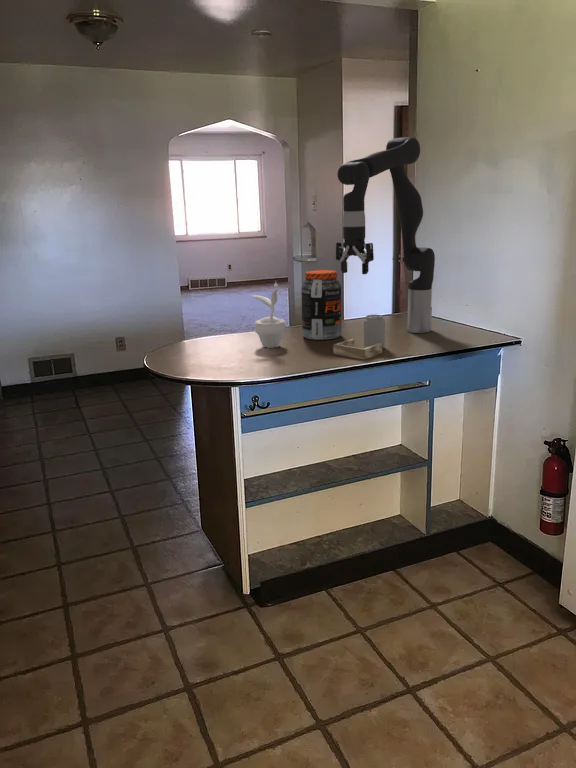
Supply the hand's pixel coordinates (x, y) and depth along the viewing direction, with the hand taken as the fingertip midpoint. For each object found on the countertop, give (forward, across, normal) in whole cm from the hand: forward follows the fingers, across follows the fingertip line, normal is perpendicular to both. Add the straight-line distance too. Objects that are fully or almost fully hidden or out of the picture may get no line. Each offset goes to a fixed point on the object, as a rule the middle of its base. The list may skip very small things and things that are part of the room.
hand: (354, 273), depth 217 cm
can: (+29, -1, -11) cm, 31 cm away
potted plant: (+29, +33, +9) cm, 45 cm away
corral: (+28, -1, -1) cm, 28 cm away
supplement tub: (+29, +27, -15) cm, 42 cm away
